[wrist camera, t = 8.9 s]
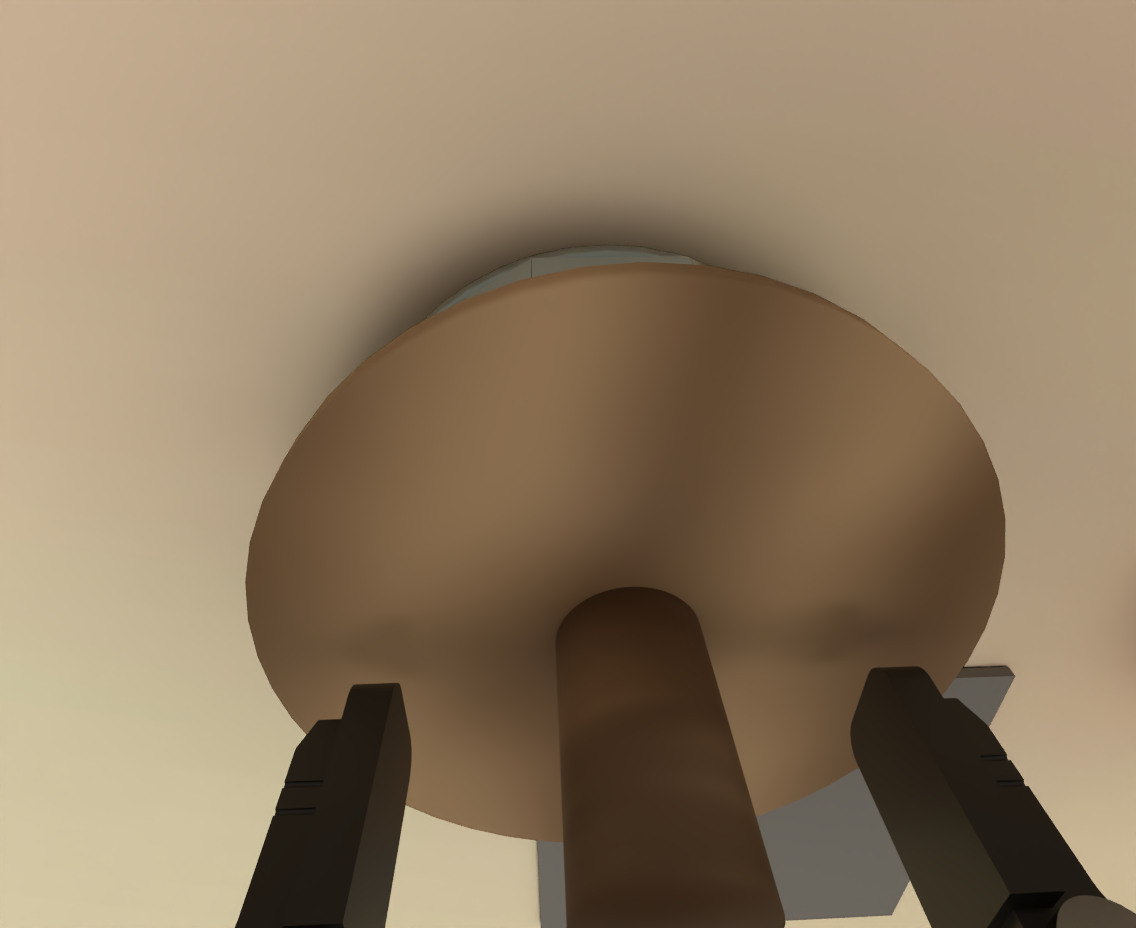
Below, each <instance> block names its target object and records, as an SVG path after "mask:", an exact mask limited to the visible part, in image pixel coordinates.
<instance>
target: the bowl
mask: <svg viewBox="0 0 1136 928" xmlns="http://www.w3.org/2000/svg"><path fill="white" fill-rule="evenodd" d="M635 262H656V263H676V264H696V265H707V264H704V263H701V262H698V261H695V260H693V259H692V258H690V257H688V256H681V255H678V254H675V253H670V252H665V251H660V250H654V249H649V248H644V247H634V246H617V245H597V246H584V247H571V248H566V249H561V250H556V251H551V252H547V253H542V254H537V255H533V256H531V257H528V258H525V259H522V260H519V261H517V262H514V263H511V264H508V265H505V266H503V267H500V268H498V269H496V270H494V271H492V272H490V273H489V274H487V275H485V276H483V277H481V278H479V279H477V280H475V281H473V282H471V283H469V284H468V285H467V286H465V287H464V288H462V289H461V290H460V291H458V292H457V293H455V294H454V295H452V296H451V297H450V298H448V299H447V300H445V301H444V302H443V303H441V304H440V305H439V306H438V307H437V308H436V309H435V310H434V311H433V312H432V313H431V314H430V315H429V316H428V317H427V318H426V319H428V318H430V317H432V316H434V315H436V314H438V313H440V312H442V311H444V310H446V309H447V308H449V307H451V306H453V305H455V304H457V303H459V302H461V301H463V300H466V299H469V298H471V297H474V296H477V295H480V294H483V293H485V292H488V291H491V290H494V289H496V288H499V287H502V286H505V285H508V284H510V283H513V282H516V281H519V280H523V279H527V278H532V277H537V276H541V275H546V274H550V273H555V272H560V271H564V270H569V269H573V268H578V267H586V266H598V265H611V264H623V263H635ZM707 266H709V265H707ZM426 319H424V320H426ZM424 320H423V321H424Z"/></svg>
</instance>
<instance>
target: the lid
mask: <svg viewBox="0 0 1136 928" xmlns="http://www.w3.org/2000/svg"><path fill="white" fill-rule="evenodd" d="M1004 558H1005V515H1004V509H1003V504H1002V498H1001V492H1000V487H999V481H998V478H997V475H996V473H995V470H994V468H993V465H992V462H991V460H990V457H989V455H988V452H987V449H986V447H985V444H984V442H983V440H982V438H981V437H980V435H979V434H978V432H977V430H976V429H975V427H974V426H973V424H972V422H971V421H970V419H969V418H968V416H967V415H966V413H965V411H964V410H963V408H962V407H961V405H960V404H959V402H958V401H957V400H956V399H955V398H954V397H953V396H952V395H951V394H950V393H949V392H948V391H947V390H946V389H945V387H944V386H943V385H942V384H941V383H940V382H939V381H938V380H937V379H936V378H935V377H934V376H933V375H932V374H931V372H930V371H929V370H928V369H927V368H926V367H924V366H923V365H922V364H921V363H919V362H918V361H917V360H916V359H914V358H913V357H912V356H911V355H910V354H908V353H907V352H906V351H905V350H903V349H902V348H901V347H899V346H898V345H897V344H895V343H894V342H893V341H891V340H890V339H889V338H887V337H886V336H885V335H883V334H882V333H881V332H879V331H878V330H877V329H876V328H874V327H873V326H872V325H870V324H869V323H868V322H866V321H865V320H864V319H862V318H860V317H858V316H856V315H854V314H852V313H851V312H849V311H847V310H845V309H843V308H841V307H839V306H837V305H835V304H833V303H831V302H830V301H828V300H826V299H824V298H822V297H820V296H818V295H816V294H814V293H811V292H808V291H805V290H802V289H799V288H796V287H793V286H790V285H787V284H784V283H781V282H779V281H776V280H773V279H770V278H767V277H764V276H760V275H755V274H749V273H744V272H739V271H734V270H728V269H723V268H718V267H712V266H707V265H696V264H676V263H656V262H635V263H623V264H611V265H598V266H586V267H578V268H573V269H569V270H564V271H560V272H555V273H550V274H546V275H541V276H537V277H532V278H527V279H523V280H519V281H516V282H513V283H510V284H508V285H505V286H502V287H499V288H496V289H494V290H491V291H488V292H485V293H483V294H480V295H477V296H474V297H471V298H469V299H466V300H463V301H461V302H459V303H457V304H455V305H453V306H451V307H449V308H447V309H446V310H444V311H442V312H440V313H438V314H436V315H434V316H432V317H430V318H428V319H426V320H424V321H422V322H421V323H419V324H417V325H415V326H413V327H411V328H409V329H408V330H407V331H405V332H404V333H402V334H401V335H400V336H398V337H397V338H395V339H394V340H393V341H391V342H390V343H388V344H387V345H386V346H384V347H383V348H381V349H380V350H379V351H377V352H376V353H374V354H373V355H372V356H370V357H369V358H367V359H366V360H365V361H364V362H363V363H362V364H361V365H360V366H359V367H358V368H357V369H356V370H354V371H353V372H352V373H351V374H350V375H349V376H348V377H347V378H346V379H345V380H344V381H343V382H342V383H341V384H340V385H339V386H338V387H337V388H336V389H335V390H334V391H333V392H332V393H331V394H330V395H329V396H328V397H327V398H326V399H325V401H324V402H323V403H322V405H321V406H320V407H319V409H318V410H317V411H316V413H315V414H314V415H313V417H312V418H311V419H310V421H309V422H308V423H307V425H306V426H305V427H304V429H303V430H302V431H301V433H300V434H299V436H298V437H297V439H296V441H295V442H294V444H293V446H292V447H291V449H290V450H289V452H288V454H287V455H286V457H285V459H284V461H283V462H282V464H281V466H280V468H279V470H278V472H277V474H276V476H275V478H274V480H273V482H272V484H271V486H270V488H269V490H268V491H267V493H266V495H265V497H264V499H263V501H262V504H261V508H260V511H259V514H258V517H257V521H256V524H255V527H254V531H253V534H252V537H251V540H250V546H249V555H248V563H247V572H246V581H245V584H246V597H247V611H248V621H249V625H250V629H251V633H252V637H253V641H254V644H255V648H256V652H257V656H258V658H259V660H260V662H261V665H262V667H263V669H264V671H265V674H266V676H267V678H268V680H269V682H270V685H271V687H272V689H273V690H274V692H275V693H276V695H277V696H278V698H279V699H280V701H281V702H282V704H283V705H284V707H285V708H286V710H287V711H288V713H289V714H290V716H291V718H292V719H293V720H294V721H295V722H296V723H297V724H298V725H299V727H300V728H301V729H302V730H303V731H304V732H305V733H306V734H308V732H309V731H310V730H311V729H312V727H313V726H314V725H315V723H316V722H317V721H318V720H327V719H341V718H342V715H343V711H344V708H345V704H346V701H347V697H348V694H349V691H350V689H351V687H352V686H353V685H354V684H376V683H399V684H400V686H401V690H402V695H403V700H404V705H405V711H406V716H407V721H408V726H409V731H410V736H411V746H412V761H411V773H410V780H409V786H408V792H407V798H406V804H405V805H407V806H409V807H411V808H414V809H416V810H419V811H421V812H424V813H426V814H428V815H431V816H433V817H436V818H439V819H442V820H445V821H448V822H452V823H455V824H458V825H461V826H464V827H468V828H471V829H476V830H480V831H485V832H489V833H494V834H498V835H503V836H508V837H515V838H522V839H530V840H537V841H546V842H562V843H563V849H564V874H565V900H566V925H567V928H784V926H785V914H784V910H783V907H782V903H781V900H780V897H779V893H778V890H777V886H776V883H775V879H774V876H773V873H772V869H771V866H770V862H769V859H768V855H767V852H766V849H765V845H764V842H763V838H762V835H761V831H760V828H759V825H758V821H757V818H756V816H759V815H762V814H765V813H768V812H770V811H773V810H775V809H778V808H780V807H783V806H785V805H788V804H790V803H793V802H795V801H798V800H800V799H802V798H804V797H806V796H808V795H810V794H812V793H814V792H816V791H818V790H820V789H822V788H824V787H826V786H828V785H830V784H832V783H834V782H835V781H837V780H839V779H840V778H842V777H844V776H845V775H847V774H849V773H850V772H852V771H854V770H855V769H857V768H859V767H858V764H857V762H856V760H855V757H854V754H853V750H852V745H851V737H850V728H851V723H852V719H853V717H854V714H855V711H856V708H857V705H858V702H859V699H860V696H861V693H862V691H863V688H864V685H865V682H866V679H867V676H868V674H869V672H870V670H871V669H873V668H877V667H905V666H919V667H921V668H922V669H924V670H925V671H926V672H927V673H928V675H929V676H930V677H931V679H932V681H933V682H934V684H935V685H936V687H937V688H938V690H939V692H940V693H941V695H943V694H944V693H945V692H946V690H947V689H948V688H949V686H950V685H951V683H952V682H953V681H954V679H955V678H956V676H957V675H958V674H959V672H960V671H961V669H962V668H963V667H964V665H965V664H966V663H967V661H968V659H969V657H970V656H971V654H972V652H973V650H974V648H975V646H976V644H977V643H978V641H979V639H980V637H981V635H982V633H983V631H984V630H985V627H986V625H987V622H988V619H989V616H990V614H991V611H992V608H993V605H994V603H995V600H996V597H997V594H998V590H999V584H1000V579H1001V574H1002V569H1003V563H1004Z"/></svg>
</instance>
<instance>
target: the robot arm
mask: <svg viewBox="0 0 1136 928" xmlns="http://www.w3.org/2000/svg"><path fill="white" fill-rule="evenodd" d="M850 737H851V745H852V750H853V754H854V757H855V760H856V762H857V764H858V767H859V769H860V771H861V773H862V775H863V778H864V780H865V782H866V784H867V786H868V789H869V791H870V793H871V795H872V797H873V800H874V802H875V804H876V806H877V808H878V811H879V813H880V815H881V817H882V819H883V822H884V824H885V826H886V828H887V830H888V833H889V835H890V837H891V839H892V841H893V844H894V846H895V848H896V850H897V852H898V855H899V857H900V859H901V861H902V863H903V866H904V868H905V870H906V872H907V874H908V877H909V879H910V881H911V883H912V885H913V888H914V890H915V892H916V894H917V896H918V899H919V901H920V903H921V905H922V907H923V910H924V912H925V914H926V916H927V918H928V921H929V923H930V925H931V927H932V928H1136V914H1135V913H1134V912H1132V911H1130V910H1129V909H1127V908H1125V907H1123V906H1122V905H1120V904H1117V903H1115V902H1113V901H1111V900H1108V899H1106V898H1105V897H1104V895H1103V894H1102V893H1101V892H1100V891H1099V890H1098V888H1097V887H1096V886H1095V884H1094V883H1093V882H1092V880H1091V879H1090V877H1089V876H1088V874H1087V873H1086V871H1085V870H1084V868H1083V867H1082V865H1081V864H1080V862H1079V861H1078V859H1077V858H1076V856H1075V855H1074V853H1073V852H1072V850H1071V849H1070V847H1069V846H1068V844H1067V843H1066V841H1065V840H1064V838H1063V837H1062V835H1061V834H1060V833H1059V831H1058V830H1057V828H1056V827H1055V825H1054V824H1053V822H1052V821H1051V819H1050V818H1049V816H1048V815H1047V813H1046V812H1045V810H1044V809H1043V807H1042V806H1041V804H1040V803H1039V801H1038V800H1037V798H1036V797H1035V795H1034V794H1033V792H1032V791H1031V789H1030V788H1029V786H1025V784H1024V779H1023V778H1022V776H1021V775H1020V773H1019V772H1018V770H1017V769H1016V767H1015V766H1014V764H1013V763H1012V761H1011V760H1008V759H1007V754H1006V752H1005V751H1004V749H1003V748H1002V746H1001V745H1000V743H999V742H998V740H997V739H996V737H995V736H994V734H993V733H992V731H991V730H990V728H989V727H988V725H987V724H986V723H985V722H984V721H983V720H981V719H980V718H979V717H978V716H977V715H976V714H975V713H973V712H972V711H971V710H970V709H969V708H968V707H966V706H965V705H964V704H963V703H962V702H961V701H960V700H958V699H957V698H943V696H942V695H941V693H940V692H939V690H938V688H937V687H936V685H935V684H934V682H933V681H932V679H931V677H930V676H929V675H928V673H927V672H926V671H925V670H924V669H922V668H921V667H919V666H905V667H877V668H873V669H871V670H870V672H869V674H868V676H867V679H866V682H865V685H864V688H863V691H862V693H861V696H860V699H859V702H858V705H857V708H856V711H855V714H854V717H853V719H852V723H851V728H850ZM411 761H412V746H411V736H410V731H409V726H408V721H407V716H406V711H405V705H404V700H403V695H402V690H401V686H400V684H399V683H376V684H354V685H353V686H352V687H351V689H350V691H349V694H348V697H347V701H346V704H345V708H344V711H343V715H342V718H341V719H327V720H318V721H317V722H316V723H315V725H314V726H313V727H312V729H311V730H310V731H309V732H308V734H307V735H306V736H305V738H304V739H303V740H302V741H301V743H300V744H299V745H298V746H297V748H296V750H295V752H294V755H293V758H292V761H291V764H290V767H289V770H288V773H287V776H286V779H285V786H284V788H282V791H281V794H280V797H279V800H278V803H277V806H276V813H275V816H273V818H272V821H271V824H270V827H269V830H268V832H267V835H266V838H265V841H264V844H263V847H262V850H261V853H260V856H259V859H258V862H257V865H256V868H255V871H254V874H253V877H252V880H251V883H250V886H249V889H248V892H247V895H246V898H245V901H244V904H243V907H242V910H241V912H240V915H239V918H238V921H237V924H236V926H235V928H385V924H386V918H387V912H388V906H389V900H390V894H391V888H392V882H393V876H394V870H395V864H396V858H397V852H398V846H399V840H400V834H401V828H402V822H403V816H404V810H405V804H406V798H407V792H408V786H409V780H410V773H411Z"/></svg>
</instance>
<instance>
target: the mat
mask: <svg viewBox="0 0 1136 928" xmlns="http://www.w3.org/2000/svg"><path fill="white" fill-rule="evenodd" d="M1014 678H1015V675H1014V674H1013V672H1012V671H1011V670H1010V669H1009V667H983V668H962V669H961V671H960V672H959V674H958V675H957V676H956V678H955V679H954V681H953V682H952V683H951V685H950V686H949V688H948V689H947V690H946V692H945V693H944V694H943V695H942V696H943V698H957V699H958V700H960V701H961V702H962V703H963V704H964V705H965V706H966V707H968V708H969V709H970V710H971V711H972V712H973V713H975V714H976V715H977V716H978V717H979V718H980V719H981V720H983V721H984V722H985V723H986V724H987V725H988V727H989V726H990V724H991V722H992V720H993V718H994V716H995V714H996V712H997V710H998V708H999V707H1000V705H1001V703H1002V701H1003V699H1004V697H1005V695H1006V693H1007V691H1008V689H1009V687H1010V685H1011V683H1012V681H1013V679H1014ZM756 818H757V821H758V825H759V828H760V831H761V835H762V838H763V842H764V845H765V849H766V852H767V855H768V859H769V862H770V866H771V869H772V873H773V876H774V879H775V883H776V886H777V890H778V893H779V897H780V900H781V903H782V907H783V910H784V914H785V921H788V920H807V919H827V918H847V917H867V916H887V915H892V913H893V911H894V910H895V908H896V906H897V904H898V902H899V900H900V898H901V896H902V894H903V892H904V890H905V888H906V886H907V884H908V882H909V881H910V879H909V877H908V874H907V872H906V870H905V868H904V866H903V863H902V861H901V859H900V857H899V855H898V852H897V850H896V848H895V846H894V844H893V841H892V839H891V837H890V835H889V833H888V830H887V828H886V826H885V824H884V822H883V819H882V817H881V815H880V813H879V811H878V808H877V806H876V804H875V802H874V800H873V797H872V795H871V793H870V791H869V789H868V786H867V784H866V782H865V780H864V778H863V775H862V773H861V771H860V769H859V768H857V769H855V770H854V771H852V772H850V773H849V774H847V775H845V776H844V777H842V778H840V779H839V780H837V781H835V782H834V783H832V784H830V785H828V786H826V787H824V788H822V789H820V790H818V791H816V792H814V793H812V794H810V795H808V796H806V797H804V798H802V799H800V800H798V801H795V802H793V803H790V804H788V805H785V806H783V807H780V808H778V809H775V810H773V811H770V812H768V813H765V814H762V815H759V816H756ZM537 845H538V869H539V893H540V918H541V928H567V925H566V900H565V874H564V849H563V843H562V842H546V841H537Z"/></svg>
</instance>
